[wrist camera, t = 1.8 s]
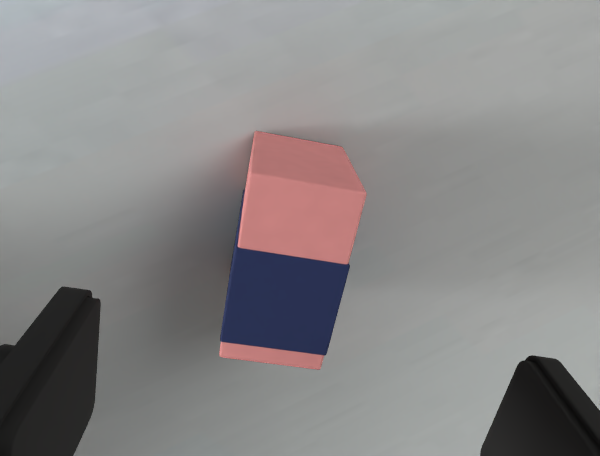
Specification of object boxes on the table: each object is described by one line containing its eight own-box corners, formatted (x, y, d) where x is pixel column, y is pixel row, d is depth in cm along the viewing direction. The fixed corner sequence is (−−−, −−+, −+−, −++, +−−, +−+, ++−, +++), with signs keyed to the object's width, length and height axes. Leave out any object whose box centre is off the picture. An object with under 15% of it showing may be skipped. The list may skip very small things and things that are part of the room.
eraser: (253, 129, 18) (247, 172, 13) (344, 146, 18) (370, 193, 14) (229, 277, 20) (216, 358, 16) (310, 289, 21) (322, 372, 16)
